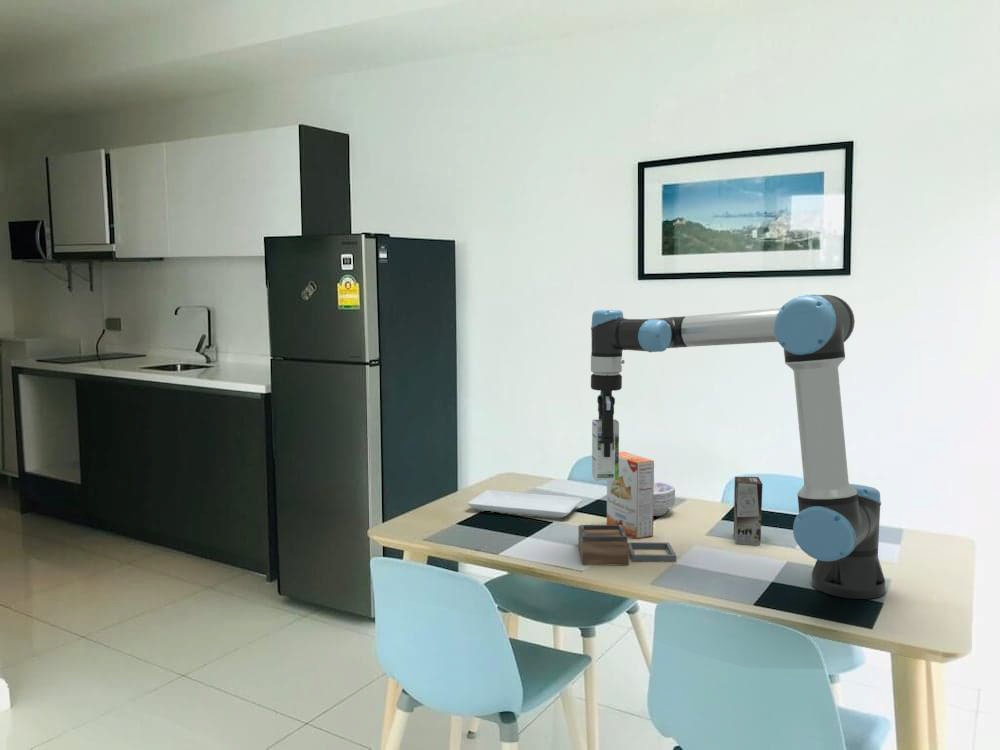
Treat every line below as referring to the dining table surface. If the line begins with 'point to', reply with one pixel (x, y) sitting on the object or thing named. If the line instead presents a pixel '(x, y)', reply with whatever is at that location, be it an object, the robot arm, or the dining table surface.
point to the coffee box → (747, 510)
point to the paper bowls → (662, 498)
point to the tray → (525, 503)
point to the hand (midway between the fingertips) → (605, 466)
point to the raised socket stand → (603, 544)
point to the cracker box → (632, 496)
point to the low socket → (651, 558)
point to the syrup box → (596, 452)
